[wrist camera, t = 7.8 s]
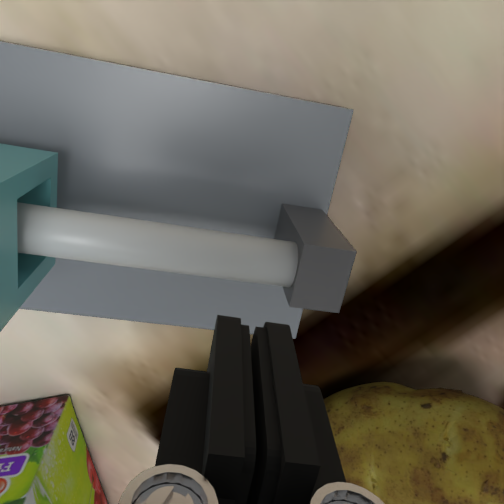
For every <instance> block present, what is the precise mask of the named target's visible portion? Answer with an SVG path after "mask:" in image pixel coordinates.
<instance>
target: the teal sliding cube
mask: <svg viewBox="0 0 504 504" xmlns="http://www.w3.org/2000/svg"><path fill="white" fill-rule="evenodd" d="M57 174H58V153H57V152H51V151H44V150H38V149H32V148H26V147H20V146H13V145H7V144H1V143H0V331H1V330H2V329H3V328H4V326H5V325H6V324H7V323H8V321H9V320H10V319H11V318H12V316H13V315H14V314H15V313H16V312H17V310H18V309H19V308H20V307H21V305H22V304H23V303H24V302H25V300H26V299H27V298H28V297H29V296H30V294H31V293H32V292H33V291H34V289H35V288H36V287H37V286H38V284H39V283H40V282H41V281H42V279H43V278H44V277H45V276H46V275H47V273H48V272H49V271H50V270H51V268H52V267H53V266H54V265H55V257H47V256H39V255H31V254H24V253H18V244H17V202H19V203H26V204H33V205H40V206H47V207H54V208H57Z"/></svg>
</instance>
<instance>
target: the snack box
mask: <svg viewBox="0 0 504 504" xmlns="http://www.w3.org/2000/svg"><path fill="white" fill-rule="evenodd" d="M0 504H107V501H106V498H105V495H104V493H103V490H102V487H101V484H100V482H99V479H98V476H97V473H96V471H95V468H94V465H93V462H92V459H91V457H90V454H89V451H88V448H87V446H86V443H85V440H84V437H83V435H82V432H81V429H80V426H79V423H78V421H77V418H76V415H75V412H74V409H73V406H72V403H71V398H70V396H69V395H65V396H59V397H53V398H47V399H42V400H37V401H31V402H25V403H19V404H13V405H8V406H2V407H0Z"/></svg>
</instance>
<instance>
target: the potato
mask: <svg viewBox="0 0 504 504" xmlns="http://www.w3.org/2000/svg"><path fill="white" fill-rule="evenodd" d="M323 400H324V403H325V407H326V411H327V414H328V418H329V421H330V425H331V429H332V432H333V436H334V440H335V443H336V447H337V450H338V454H339V458H340V461H341V465H342V469H343V472H344V476H345V479H346V483H352V484H355V485H357V486H360V487H363V488H365V489H367V490H368V491H370V492H371V493H373V494H374V495H376V496H377V497H378V498H379V499H380V500H381V501H382V502H383V503H385V504H504V409H503V408H501V407H498V406H496V405H494V404H492V403H490V402H487V401H485V400H483V399H481V398H478V397H475V396H472V395H469V394H466V393H463V392H462V391H461V390H454V389H444V388H433V389H418V390H415V389H412V388H409V387H407V386H404V385H401V384H397V383H392V382H374V383H368V384H363V385H358V386H354V387H350V388H347V389H344V390H341V391H339V392H336V393H334V394H332V395H330V396H328V397H327V398H325V399H323Z"/></svg>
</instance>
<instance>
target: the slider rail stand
mask: <svg viewBox="0 0 504 504" xmlns="http://www.w3.org/2000/svg"><path fill="white" fill-rule="evenodd" d="M353 111H354V110H352V109H348V108H344V107H339V106H334V105H328V104H323V103H318V102H313V101H308V100H303V99H297V98H292V97H287V96H282V95H277V94H272V93H266V92H261V91H256V90H251V89H246V88H241V87H236V86H230V85H225V84H220V83H215V82H210V81H205V80H199V79H194V78H189V77H184V76H179V75H174V74H169V73H163V72H158V71H153V70H148V69H143V68H138V67H132V66H127V65H122V64H117V63H112V62H107V61H101V60H96V59H91V58H86V57H81V56H76V55H71V54H65V53H60V52H55V51H50V50H45V49H40V48H34V47H29V46H24V45H19V44H14V43H9V42H4V41H0V143H1V144H7V145H13V146H20V147H26V148H32V149H38V150H44V151H51V152H57V153H58V174H57V208H54V207H47V206H40V205H33V204H26V203H19V202H17V244H18V253H24V254H31V255H39V256H47V257H55V265H54V266H53V267H52V268H51V270H50V271H49V272H48V273H47V275H46V276H45V277H44V278H43V279H42V281H41V282H40V283H39V284H38V286H37V287H36V288H35V289H34V291H33V292H32V293H31V294H30V296H29V297H28V298H27V299H26V300H25V302H24V303H23V304H22V305H21V307H20V308H19V309H28V310H37V311H46V312H55V313H64V314H73V315H83V316H92V317H101V318H110V319H119V320H128V321H137V322H147V323H156V324H165V325H174V326H183V327H192V328H201V329H210V330H214V329H215V324H216V318H217V315H223V316H230V317H237V318H241V324H242V325H249V330H250V334H254V330H255V327H263V326H264V324H265V322H272V323H279V324H287V325H289V326H290V329H291V334H292V338H293V339H296V335H297V331H298V327H299V323H300V319H301V315H302V311H303V309H310V310H318V311H327V312H335V313H339V311H340V308H341V304H342V301H343V298H344V294H345V291H346V287H347V284H348V280H349V277H350V273H351V270H352V266H353V263H354V259H355V256H356V253H357V251H356V250H355V249H354V248H353V246H352V245H351V244H350V243H349V242H348V240H347V239H346V238H345V237H344V236H343V234H342V233H341V232H340V231H339V229H338V228H337V227H336V226H335V225H334V223H333V222H332V221H331V220H330V219H329V217H328V216H327V213H328V209H329V205H330V201H331V197H332V193H333V189H334V185H335V181H336V178H337V174H338V170H339V166H340V162H341V158H342V154H343V150H344V146H345V142H346V138H347V134H348V130H349V126H350V123H351V119H352V115H353Z"/></svg>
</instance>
